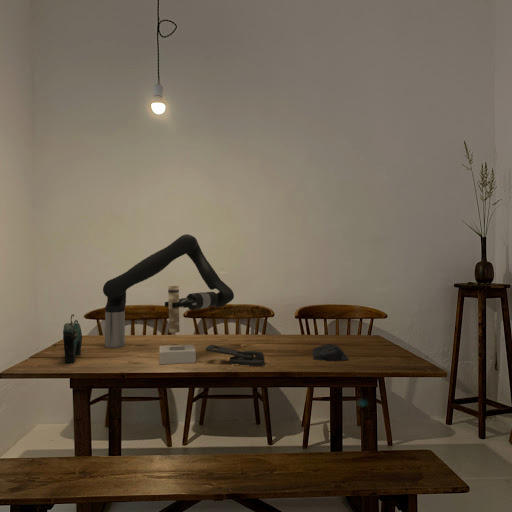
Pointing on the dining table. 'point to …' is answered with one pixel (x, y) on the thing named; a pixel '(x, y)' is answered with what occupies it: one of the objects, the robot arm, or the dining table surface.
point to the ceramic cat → (72, 340)
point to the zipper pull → (240, 356)
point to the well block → (177, 354)
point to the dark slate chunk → (329, 353)
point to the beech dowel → (173, 309)
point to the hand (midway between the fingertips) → (169, 305)
